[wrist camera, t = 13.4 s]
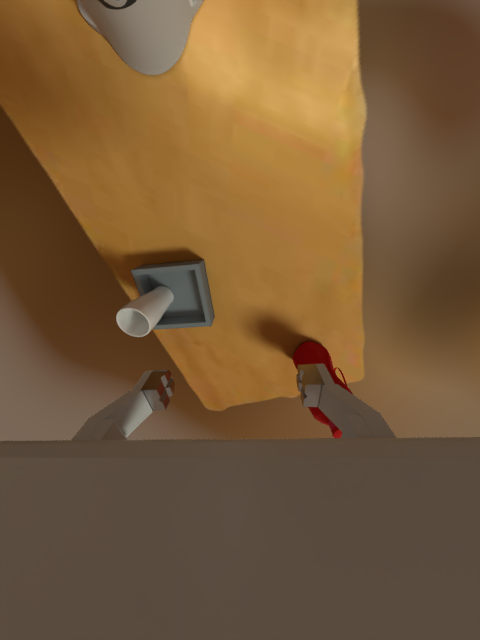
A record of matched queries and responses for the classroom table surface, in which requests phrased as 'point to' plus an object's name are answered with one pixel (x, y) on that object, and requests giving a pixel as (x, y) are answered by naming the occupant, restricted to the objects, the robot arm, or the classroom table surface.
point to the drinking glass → (144, 311)
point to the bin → (179, 292)
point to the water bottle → (319, 355)
